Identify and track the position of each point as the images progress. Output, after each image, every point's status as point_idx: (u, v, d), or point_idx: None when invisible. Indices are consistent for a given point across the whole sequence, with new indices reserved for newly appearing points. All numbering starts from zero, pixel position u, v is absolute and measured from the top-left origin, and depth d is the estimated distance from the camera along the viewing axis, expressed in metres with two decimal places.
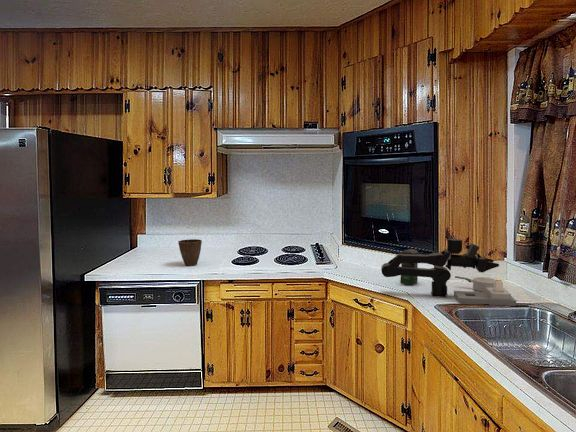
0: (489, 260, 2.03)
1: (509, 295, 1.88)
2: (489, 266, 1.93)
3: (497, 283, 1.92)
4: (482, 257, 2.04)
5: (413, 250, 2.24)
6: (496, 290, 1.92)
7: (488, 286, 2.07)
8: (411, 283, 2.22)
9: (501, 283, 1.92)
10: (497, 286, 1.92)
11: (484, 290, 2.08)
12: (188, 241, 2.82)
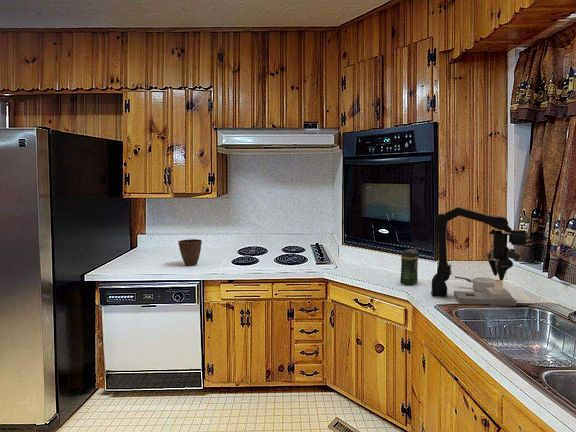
0: (496, 271, 1.97)
1: (509, 295, 1.88)
2: (501, 271, 1.87)
3: (497, 283, 1.92)
4: None
5: (413, 250, 2.24)
6: (496, 290, 1.92)
7: (488, 286, 2.07)
8: (411, 283, 2.22)
9: (501, 283, 1.92)
10: (497, 286, 1.92)
11: (484, 290, 2.08)
12: (188, 241, 2.82)
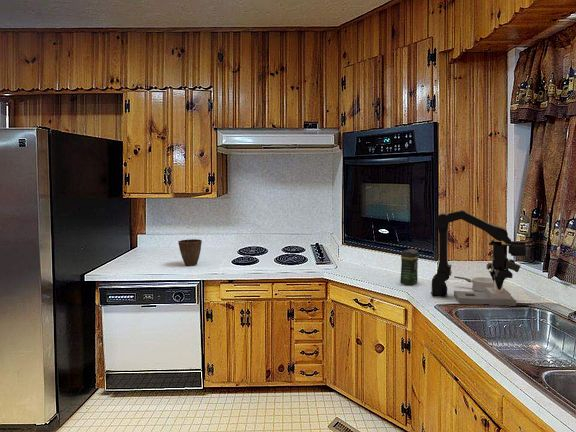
0: None
1: (509, 295, 1.88)
2: (498, 280, 1.91)
3: None
4: None
5: (413, 250, 2.24)
6: (496, 290, 1.92)
7: (487, 286, 2.07)
8: (411, 283, 2.22)
9: None
10: None
11: (483, 290, 2.08)
12: (188, 241, 2.82)
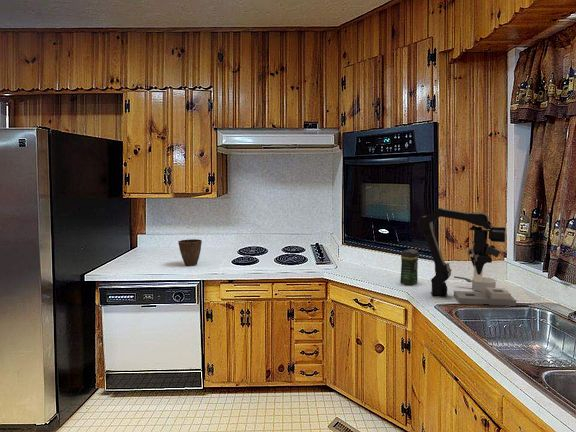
0: None
1: (509, 295, 1.88)
2: (478, 265, 1.92)
3: None
4: None
5: (413, 250, 2.24)
6: (476, 275, 1.94)
7: (487, 286, 2.07)
8: (411, 283, 2.22)
9: None
10: None
11: (483, 290, 2.08)
12: (188, 241, 2.82)
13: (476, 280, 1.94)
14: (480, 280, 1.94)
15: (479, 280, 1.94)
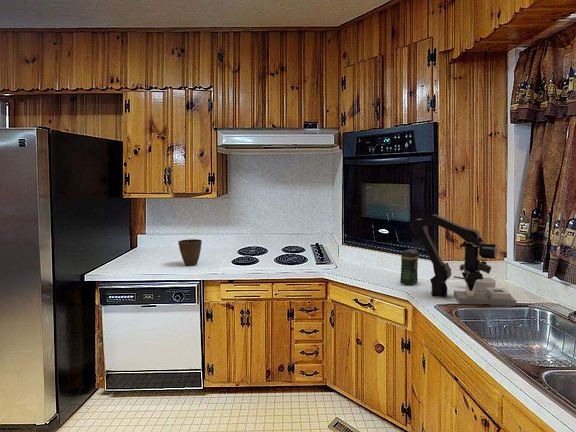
0: None
1: (509, 295, 1.88)
2: (470, 282, 1.93)
3: None
4: None
5: (413, 250, 2.24)
6: (468, 291, 1.95)
7: (487, 286, 2.07)
8: (411, 283, 2.22)
9: None
10: None
11: (483, 290, 2.08)
12: (188, 241, 2.82)
13: None
14: None
15: None
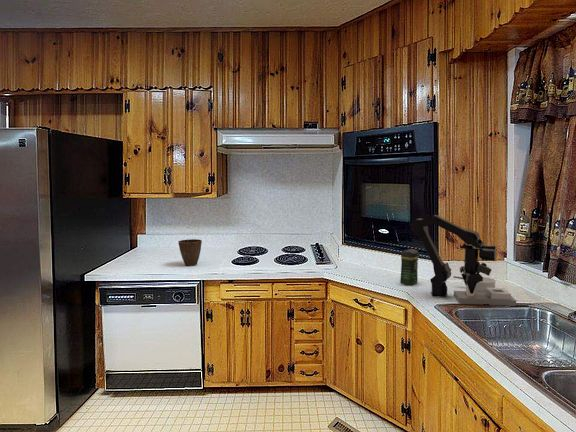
0: None
1: (509, 295, 1.88)
2: (471, 284, 1.91)
3: None
4: None
5: (413, 250, 2.24)
6: (468, 294, 1.95)
7: (487, 286, 2.07)
8: (411, 283, 2.22)
9: None
10: None
11: (483, 290, 2.08)
12: (188, 241, 2.82)
13: None
14: None
15: None
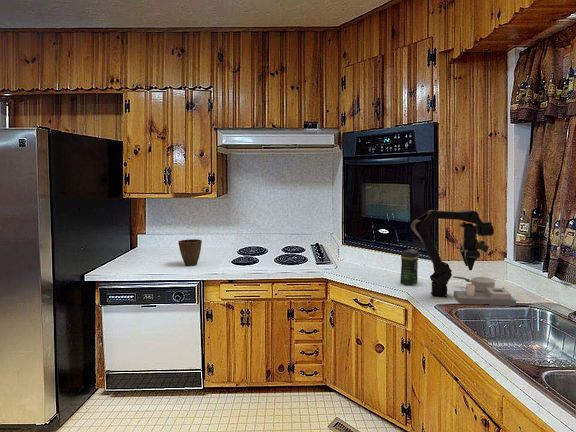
0: None
1: (509, 295, 1.88)
2: (469, 261, 1.98)
3: (469, 287, 1.95)
4: None
5: (413, 250, 2.24)
6: (468, 294, 1.95)
7: (486, 286, 2.07)
8: (411, 283, 2.22)
9: (473, 287, 1.94)
10: (469, 290, 1.95)
11: (482, 290, 2.08)
12: (188, 241, 2.82)
13: None
14: None
15: None
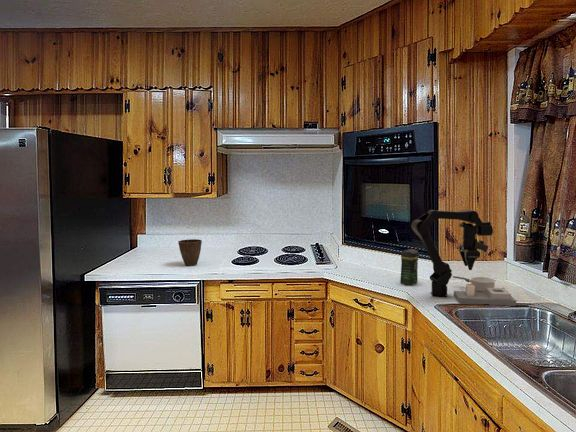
0: (466, 262, 2.09)
1: (509, 295, 1.88)
2: (469, 261, 1.99)
3: (469, 287, 1.95)
4: None
5: (413, 250, 2.24)
6: (468, 294, 1.95)
7: (486, 286, 2.07)
8: (411, 283, 2.22)
9: (473, 287, 1.94)
10: (469, 290, 1.95)
11: (482, 290, 2.08)
12: (188, 241, 2.82)
13: None
14: None
15: None
